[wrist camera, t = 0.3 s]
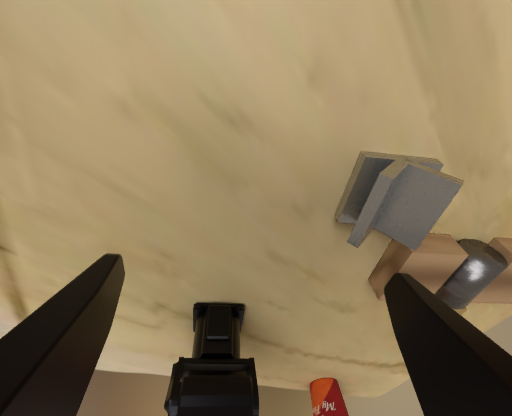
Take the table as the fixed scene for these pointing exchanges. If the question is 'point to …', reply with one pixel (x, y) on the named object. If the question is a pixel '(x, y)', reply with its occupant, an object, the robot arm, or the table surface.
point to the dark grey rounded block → (472, 274)
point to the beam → (440, 266)
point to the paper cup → (327, 398)
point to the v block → (395, 197)
